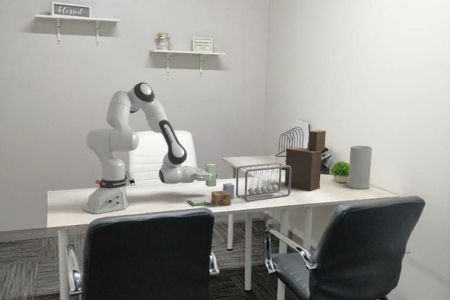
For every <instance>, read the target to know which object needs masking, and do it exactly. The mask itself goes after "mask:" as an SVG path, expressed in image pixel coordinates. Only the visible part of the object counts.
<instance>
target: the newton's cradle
mask: <svg viewBox="0 0 450 300" xmlns="http://www.w3.org/2000/svg"><path fill="white" fill-rule="evenodd" d="M278 165H279V166H278ZM257 167H258V168H257ZM249 168H250V169H249ZM286 168H289V186H288V192H287V194H286V193H283V192H280V191H281V187H282V185H281V184H282V169H286ZM240 169H244V170H246V171H245V175H244V179H245V180H244V194H239V175H240V174H239V170H240ZM269 170H272V172H275V170H277V172H276V173H278V175H279V177H278V176H276V179H275V180H273V181H274V184H273V185H272V186H271V184H268V185H267V186H265V183H266V182H263V185H262V186H261V187H260V185H259V182H256V183H257V185H256V187H255V188H253V182H251V186H250V187H249V188H248V174H249V172H250V175H249V176H252V175H251V172H253V174H255V173H256V174H258V171H260V172H259V174H262V175H261V176H262V177H264V174H263V171H265V172H268V171H269ZM261 171H262V172H261ZM272 174H273V173H271V175H270V176H272ZM267 176H268V177H267V179H268V181H269V183H271V180H272V179H270V177H269V175H267ZM277 177H278V185H277V184H276V183H277V182H276V180H277ZM254 178H255V176H253V178H252V180H254ZM260 179H261V177H259V178H258V181H260ZM264 179H266V175H265V178H264ZM291 188H292V187H291V167H290V166H286V164H282V163H280V162H270V163H260V164H250V165H249V164H248V165H240V166H238V167H237V168H236V179H235V196H236V197H237V198H242V199H243V200H245V202H248V203H250V202H256V201H263V200H270V199H276V198H277V199H278V198H283V197H289V196H290V194H291V190H292V189H291ZM274 193H275V194H276V193H279V194H280V195H278V194H277V195H273V196H272V195H271V196H266V197H265V196H264V197H260V198H259V197H257V198H250V199H248V197H251V196H261V195H268V194H274Z"/></svg>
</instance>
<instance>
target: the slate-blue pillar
mask: <svg viewBox="0 0 450 300" xmlns="http://www.w3.org/2000/svg"><path fill="white" fill-rule="evenodd" d="M222 191H227V192H228V193H230V194H231V201H232V200H235V185H234V184H233V183H232V182H229V183H223V185H222Z"/></svg>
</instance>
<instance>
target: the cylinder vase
mask: <svg viewBox="0 0 450 300" xmlns="http://www.w3.org/2000/svg"><path fill="white" fill-rule="evenodd" d="M372 152H373V147H372V146H368V145H351V146H350V151H349V153H350V154H349V168H348V179H347V185H348V187H349V188H351V189H355V190H366V189H368V188H370V179H371V165H372Z"/></svg>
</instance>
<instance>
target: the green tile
mask: <svg viewBox="0 0 450 300" xmlns="http://www.w3.org/2000/svg"><path fill="white" fill-rule="evenodd" d="M186 203H188V204H189V205H190V206H192V207H198V206H199V207H200V206H201V207H202V206H207V205H208V206H209V205H210V203H209V202H208V201H207V200H206V199H204V198H194V199H189V200H186Z"/></svg>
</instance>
